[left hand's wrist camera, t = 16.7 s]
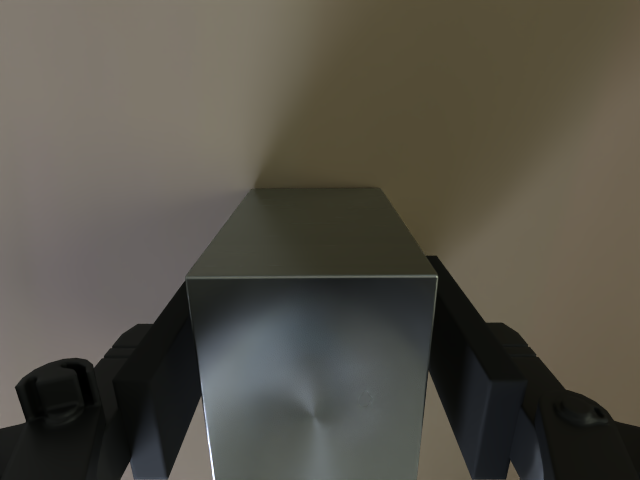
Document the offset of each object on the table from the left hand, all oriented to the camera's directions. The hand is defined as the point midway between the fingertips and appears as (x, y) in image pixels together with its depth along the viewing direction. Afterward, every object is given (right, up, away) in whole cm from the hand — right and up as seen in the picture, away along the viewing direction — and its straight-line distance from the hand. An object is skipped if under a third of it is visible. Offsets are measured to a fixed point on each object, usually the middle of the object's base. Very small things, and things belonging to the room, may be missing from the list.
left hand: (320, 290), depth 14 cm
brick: (0, +1, +1) cm, 2 cm away
